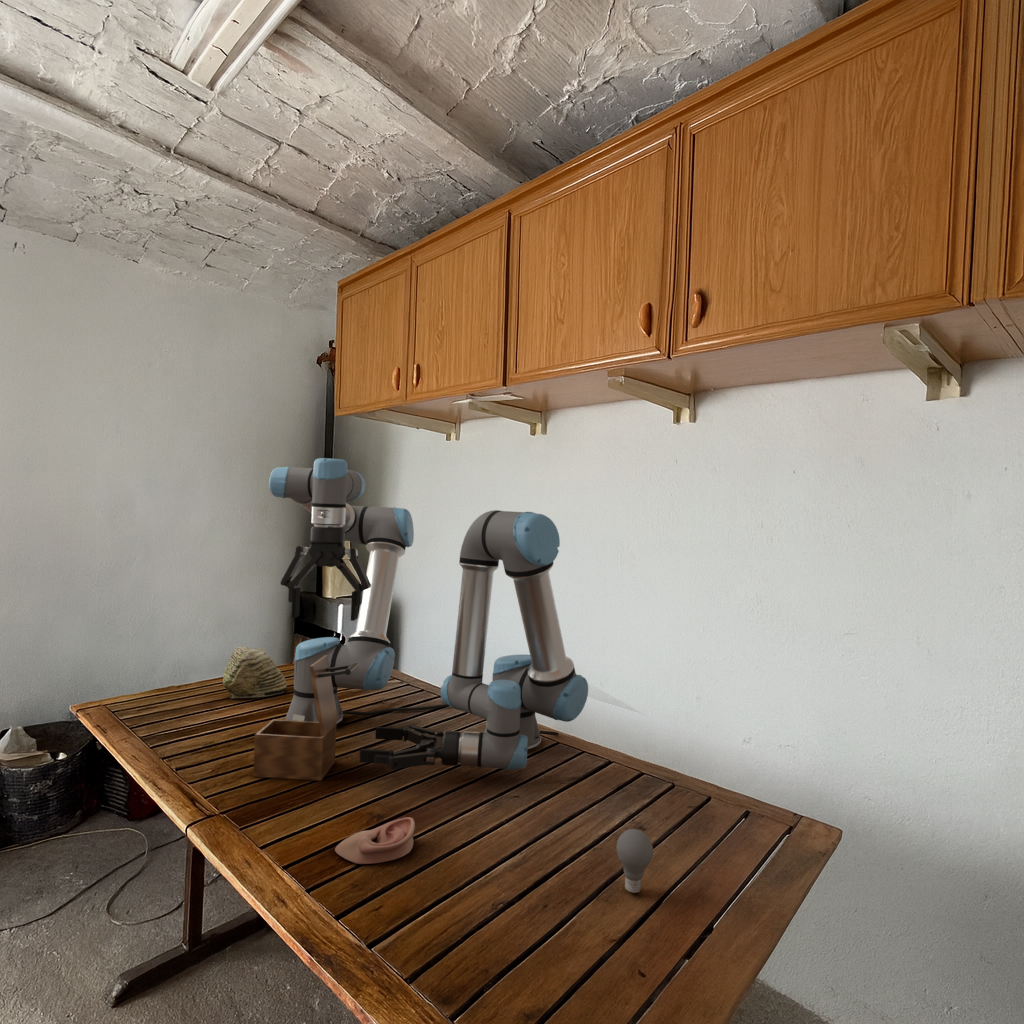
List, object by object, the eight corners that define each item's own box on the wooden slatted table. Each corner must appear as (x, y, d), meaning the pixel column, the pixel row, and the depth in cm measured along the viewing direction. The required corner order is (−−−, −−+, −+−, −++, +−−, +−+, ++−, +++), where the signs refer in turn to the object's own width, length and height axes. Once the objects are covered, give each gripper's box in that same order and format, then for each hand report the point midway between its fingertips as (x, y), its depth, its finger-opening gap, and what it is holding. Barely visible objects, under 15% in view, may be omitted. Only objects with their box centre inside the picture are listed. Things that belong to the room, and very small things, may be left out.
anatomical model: (327, 836, 111) (356, 806, 122) (326, 858, 111) (355, 826, 122) (398, 848, 108) (421, 815, 119) (397, 871, 108) (420, 836, 119)
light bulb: (610, 879, 108) (613, 822, 108) (644, 879, 109) (647, 822, 109) (619, 902, 102) (622, 840, 102) (655, 901, 103) (658, 840, 103)
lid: (309, 666, 141) (346, 660, 141) (324, 655, 151) (358, 650, 151) (320, 736, 141) (357, 731, 141) (334, 721, 151) (369, 715, 151)
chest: (253, 776, 142) (254, 734, 142) (271, 758, 152) (273, 719, 152) (320, 780, 141) (322, 738, 141) (334, 762, 151) (336, 722, 151)
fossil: (218, 695, 195) (220, 647, 195) (278, 685, 208) (279, 640, 207) (228, 703, 189) (230, 653, 188) (289, 692, 201) (290, 645, 201)
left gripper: (267, 524, 142) (264, 618, 142) (378, 529, 141) (374, 623, 141) (281, 522, 149) (277, 612, 150) (385, 527, 149) (382, 617, 149)
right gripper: (452, 789, 133) (352, 784, 134) (465, 744, 158) (381, 739, 158) (453, 754, 133) (353, 748, 133) (466, 714, 158) (382, 709, 158)
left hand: (324, 618), depth 146 cm, fingers open, 13 cm apart
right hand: (368, 743), depth 146 cm, fingers open, 13 cm apart
